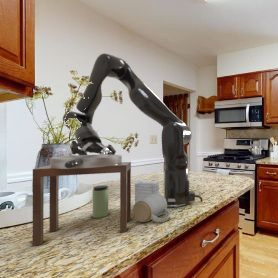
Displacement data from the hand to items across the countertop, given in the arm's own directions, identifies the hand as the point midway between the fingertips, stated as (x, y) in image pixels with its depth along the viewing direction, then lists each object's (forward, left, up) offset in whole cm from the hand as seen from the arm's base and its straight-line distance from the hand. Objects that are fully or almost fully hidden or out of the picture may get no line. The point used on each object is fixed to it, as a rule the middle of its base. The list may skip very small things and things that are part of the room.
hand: (99, 159), depth 79 cm
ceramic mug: (-20, +21, -19) cm, 34 cm away
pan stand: (-3, +26, -19) cm, 32 cm away
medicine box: (-17, +2, -19) cm, 25 cm away
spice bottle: (-3, +10, -19) cm, 21 cm away
